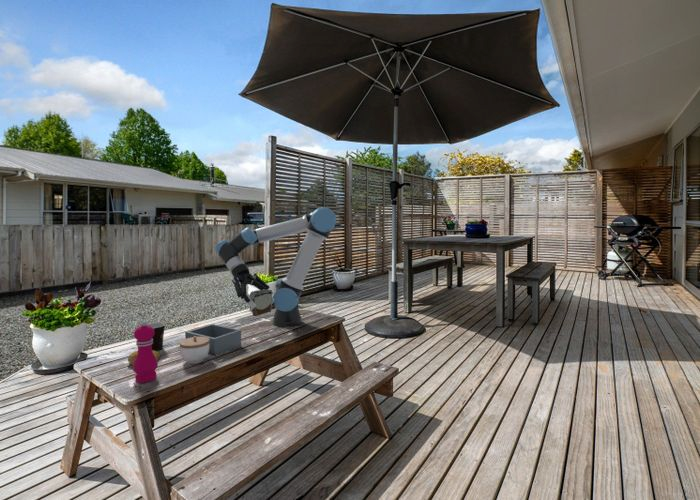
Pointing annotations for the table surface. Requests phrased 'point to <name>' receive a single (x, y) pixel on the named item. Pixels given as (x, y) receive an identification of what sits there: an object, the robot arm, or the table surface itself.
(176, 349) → the table surface
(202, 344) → the lidded jar
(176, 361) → the table surface
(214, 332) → the charcoal bin
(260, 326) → the table surface
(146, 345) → the pepper mill
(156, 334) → the coffee mug
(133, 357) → the bagel
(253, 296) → the food container
